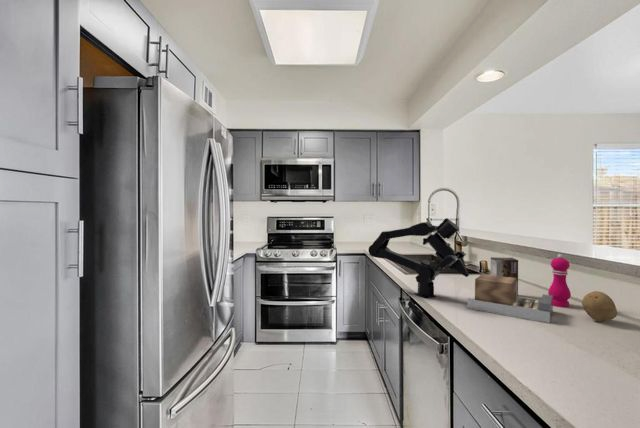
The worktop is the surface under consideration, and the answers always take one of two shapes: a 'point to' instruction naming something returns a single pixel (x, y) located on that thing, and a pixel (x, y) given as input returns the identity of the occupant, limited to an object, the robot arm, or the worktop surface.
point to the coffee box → (505, 268)
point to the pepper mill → (559, 282)
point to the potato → (599, 306)
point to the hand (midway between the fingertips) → (467, 276)
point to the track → (518, 308)
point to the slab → (495, 289)
